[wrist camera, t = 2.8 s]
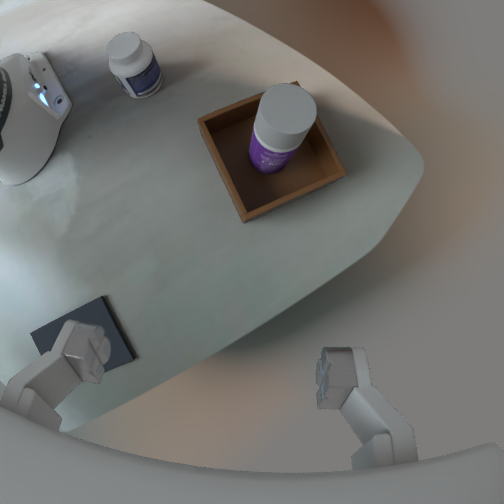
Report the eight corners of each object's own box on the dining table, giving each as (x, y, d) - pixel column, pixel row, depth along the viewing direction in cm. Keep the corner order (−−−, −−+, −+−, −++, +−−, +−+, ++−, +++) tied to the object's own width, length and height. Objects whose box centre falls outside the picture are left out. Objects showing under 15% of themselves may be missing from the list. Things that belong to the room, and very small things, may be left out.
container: (256, 180, 37) (271, 143, 22) (242, 145, 37) (248, 90, 22) (292, 168, 38) (328, 126, 23) (278, 133, 37) (304, 76, 22)
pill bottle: (169, 69, 37) (154, 28, 27) (154, 102, 37) (134, 66, 27) (134, 64, 36) (113, 25, 26) (119, 96, 36) (92, 62, 27)
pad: (32, 332, 37) (30, 333, 36) (102, 295, 37) (101, 296, 37) (61, 387, 37) (59, 388, 37) (135, 358, 38) (133, 359, 37)
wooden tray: (201, 134, 37) (196, 118, 32) (289, 99, 38) (297, 80, 32) (243, 223, 38) (244, 220, 33) (332, 182, 38) (347, 174, 33)
